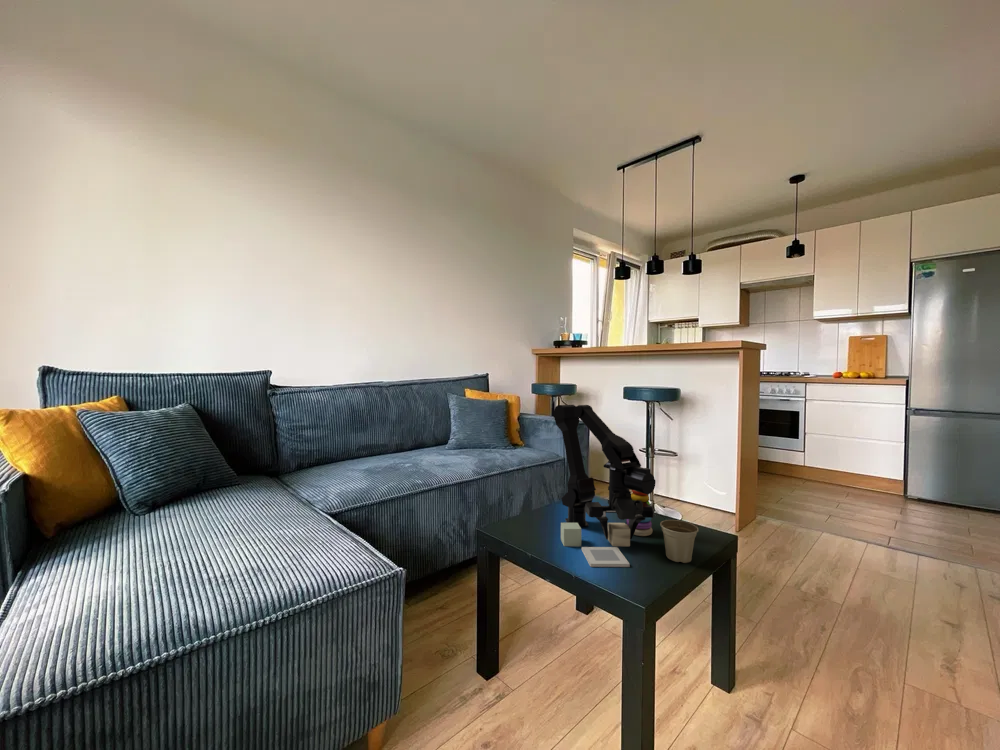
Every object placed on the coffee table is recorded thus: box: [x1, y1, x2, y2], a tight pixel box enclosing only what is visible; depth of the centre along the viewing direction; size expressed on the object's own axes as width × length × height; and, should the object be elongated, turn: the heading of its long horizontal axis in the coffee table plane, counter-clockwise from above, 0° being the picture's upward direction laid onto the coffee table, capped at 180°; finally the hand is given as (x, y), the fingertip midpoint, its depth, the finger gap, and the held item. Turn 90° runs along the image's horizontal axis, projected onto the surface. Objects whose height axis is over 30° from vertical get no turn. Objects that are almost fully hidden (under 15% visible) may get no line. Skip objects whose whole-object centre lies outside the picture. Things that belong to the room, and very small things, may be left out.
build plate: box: [581, 546, 631, 568], centre depth 108 cm, size 10×10×1 cm
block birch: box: [607, 522, 631, 547], centre depth 118 cm, size 5×5×5 cm
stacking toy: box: [625, 490, 654, 537], centre depth 127 cm, size 8×8×19 cm
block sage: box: [560, 522, 582, 547], centre depth 118 cm, size 5×5×5 cm
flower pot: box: [659, 519, 699, 564], centre depth 109 cm, size 9×9×9 cm
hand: (618, 539), depth 118 cm, fingers open, 7 cm apart
